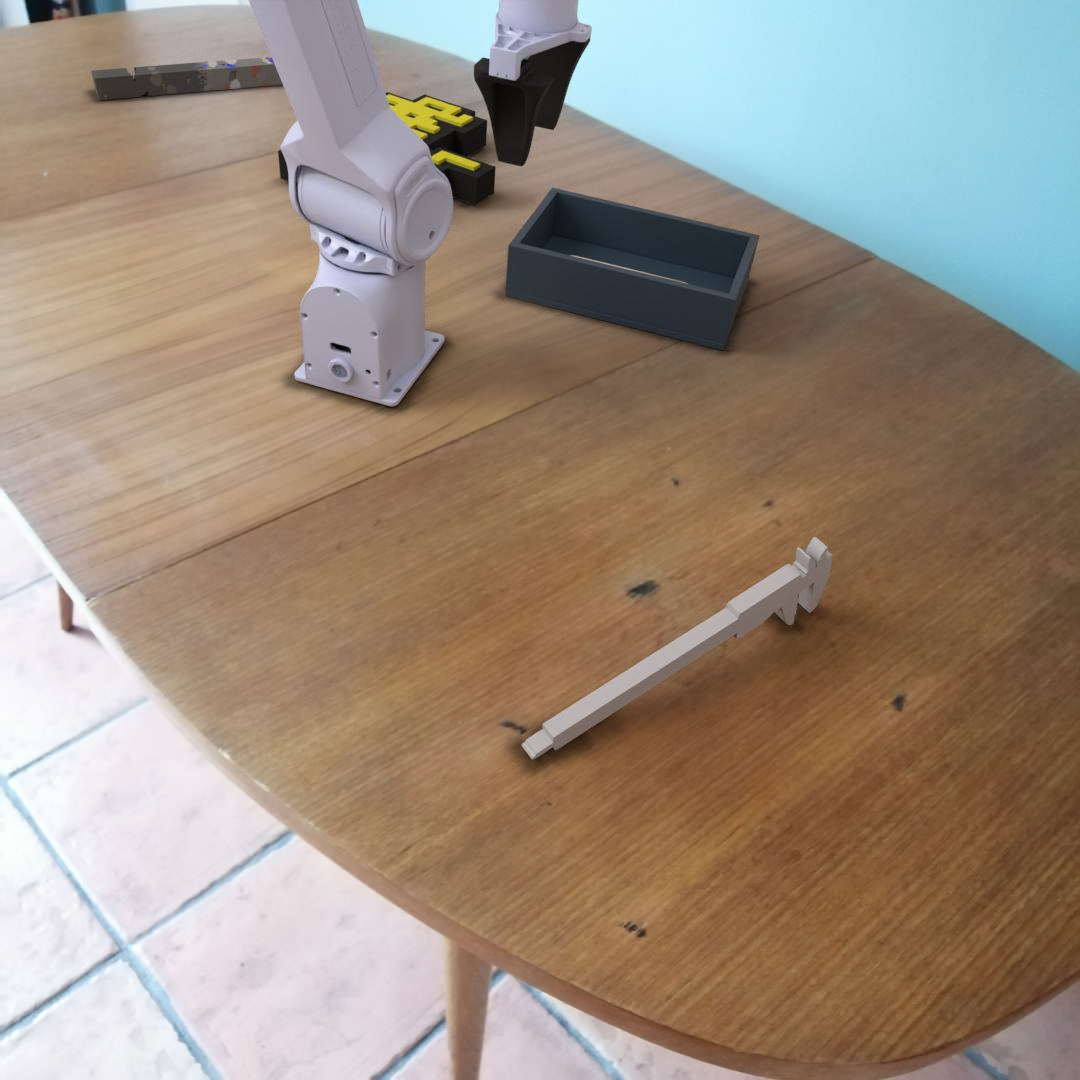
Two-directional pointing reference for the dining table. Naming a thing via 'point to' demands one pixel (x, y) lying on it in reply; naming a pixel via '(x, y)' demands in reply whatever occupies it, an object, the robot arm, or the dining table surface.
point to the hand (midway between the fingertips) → (527, 143)
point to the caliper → (695, 645)
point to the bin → (632, 267)
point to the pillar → (185, 78)
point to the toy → (445, 143)
